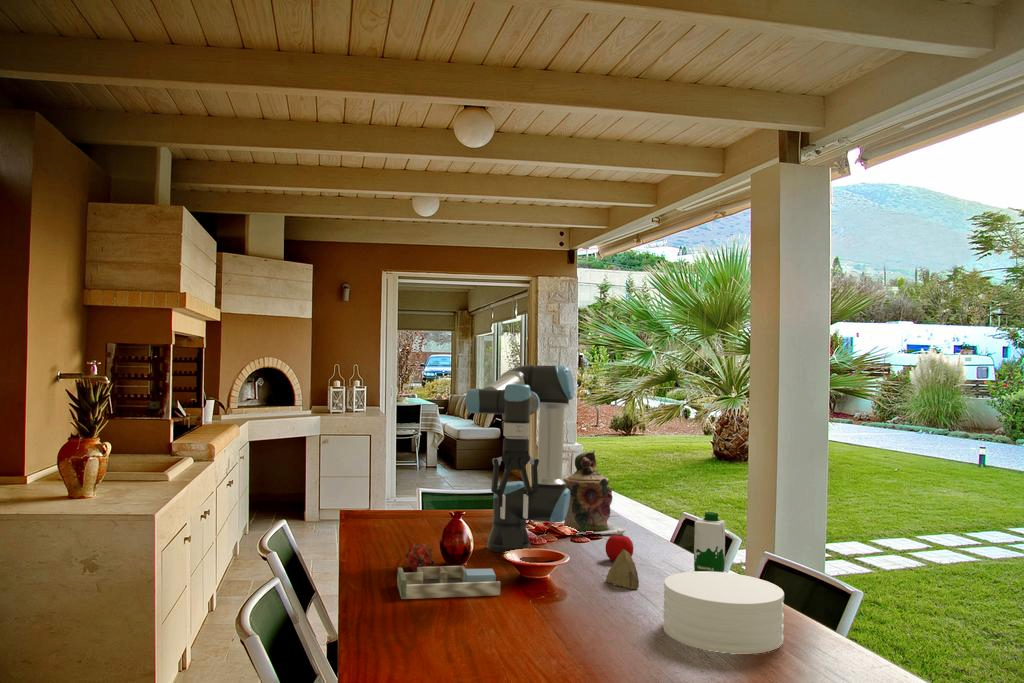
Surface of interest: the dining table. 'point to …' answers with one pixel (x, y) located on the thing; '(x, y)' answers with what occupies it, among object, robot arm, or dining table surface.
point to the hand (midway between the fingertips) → (513, 517)
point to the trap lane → (442, 583)
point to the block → (479, 575)
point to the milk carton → (709, 543)
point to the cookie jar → (589, 498)
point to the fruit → (618, 546)
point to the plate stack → (723, 612)
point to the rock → (623, 571)
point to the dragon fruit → (419, 556)
